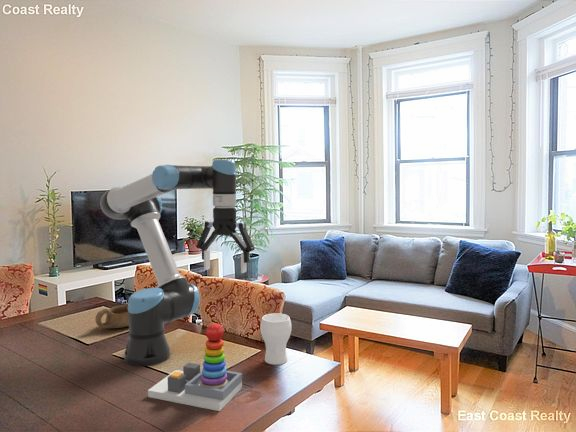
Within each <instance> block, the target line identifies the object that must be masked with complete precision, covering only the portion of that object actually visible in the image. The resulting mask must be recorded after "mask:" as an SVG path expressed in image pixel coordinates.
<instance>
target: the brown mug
mask: <svg viewBox="0 0 576 432" xmlns="http://www.w3.org/2000/svg"><path fill="white" fill-rule="evenodd" d="M104 315H105V317H106V318H105V322H102V318H103V316H104ZM94 319H95V323H96V325H97V326H98V327H99V328H101V329H122V328H126V327H127V328H129V316H128V303H127V304H126V303H125V304H121V305H115V306H113V307H109V308H104V309H100V310H99V311H98V312H97V314H96V315H95V317H94Z"/></svg>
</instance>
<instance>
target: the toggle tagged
mask: <svg viewBox="0 0 576 432" xmlns="http://www.w3.org/2000/svg"><path fill="white" fill-rule="evenodd" d="M173 372H174V371H173ZM170 374H171V373H170ZM170 374H169V375H170ZM185 384H186V375H184V374H183V373H181V372H174V373H173V374H171V375H170V376H169V377H168V391H172V392H177V393H181V392H182V391H183V390H184V389H185Z"/></svg>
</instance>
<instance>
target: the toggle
mask: <svg viewBox="0 0 576 432" xmlns="http://www.w3.org/2000/svg"><path fill="white" fill-rule="evenodd" d="M182 371H183V374H184V375H186V380H189V381H190V380H191V379H193V378H194V377H195V376H196V375H198V374H199V373H200V372H201V363H200V364H198V363H194V362H187V363H186V364H184V365H183V370H182Z"/></svg>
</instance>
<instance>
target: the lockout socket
mask: <svg viewBox="0 0 576 432" xmlns="http://www.w3.org/2000/svg"><path fill="white" fill-rule="evenodd" d="M226 374H227V381H230V382H229V383H228V384H227V385H226V386H225V387H224V388H223V389H216V388H211V387H205V386H200V385H199V384H200V383H201V375H202V370H200V373H199V374H198V375H196V376H195V377H194V378H193V379H191V380H190V381H189V382H188V383H186V384H185V393H186V394H191V395H197V396H202V397H207V398H212V399H218V400H224V399H225V398H226V397H227V396H228V395H229V394H230V393H231V392H232V391H233V390H234V389H235V388H236V387H237V386H238V385H239V384H240V383H241V382H242V383H243V373H242V372H236V371H231V370H226Z"/></svg>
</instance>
